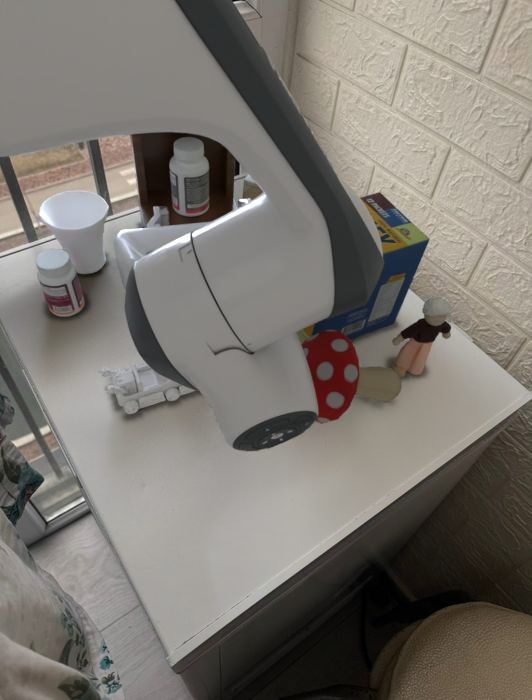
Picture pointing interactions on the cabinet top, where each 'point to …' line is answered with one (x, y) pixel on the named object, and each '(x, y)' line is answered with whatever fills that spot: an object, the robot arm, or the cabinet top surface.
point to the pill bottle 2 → (189, 177)
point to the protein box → (398, 272)
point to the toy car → (141, 387)
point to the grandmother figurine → (422, 337)
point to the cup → (78, 227)
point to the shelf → (156, 183)
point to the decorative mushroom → (344, 375)
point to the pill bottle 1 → (59, 282)
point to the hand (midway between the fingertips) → (202, 207)
